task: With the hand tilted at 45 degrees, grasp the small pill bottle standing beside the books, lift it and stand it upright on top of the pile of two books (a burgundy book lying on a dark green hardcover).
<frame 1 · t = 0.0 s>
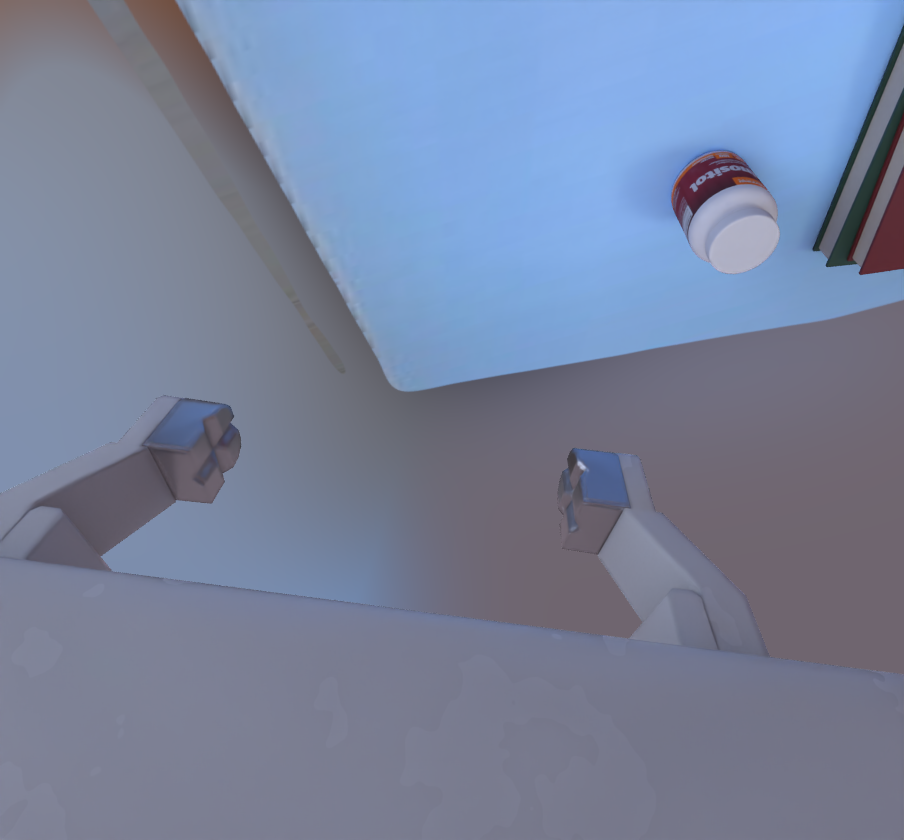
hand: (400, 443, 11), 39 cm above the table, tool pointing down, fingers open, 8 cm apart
pill bottle: (705, 184, 42), on the table
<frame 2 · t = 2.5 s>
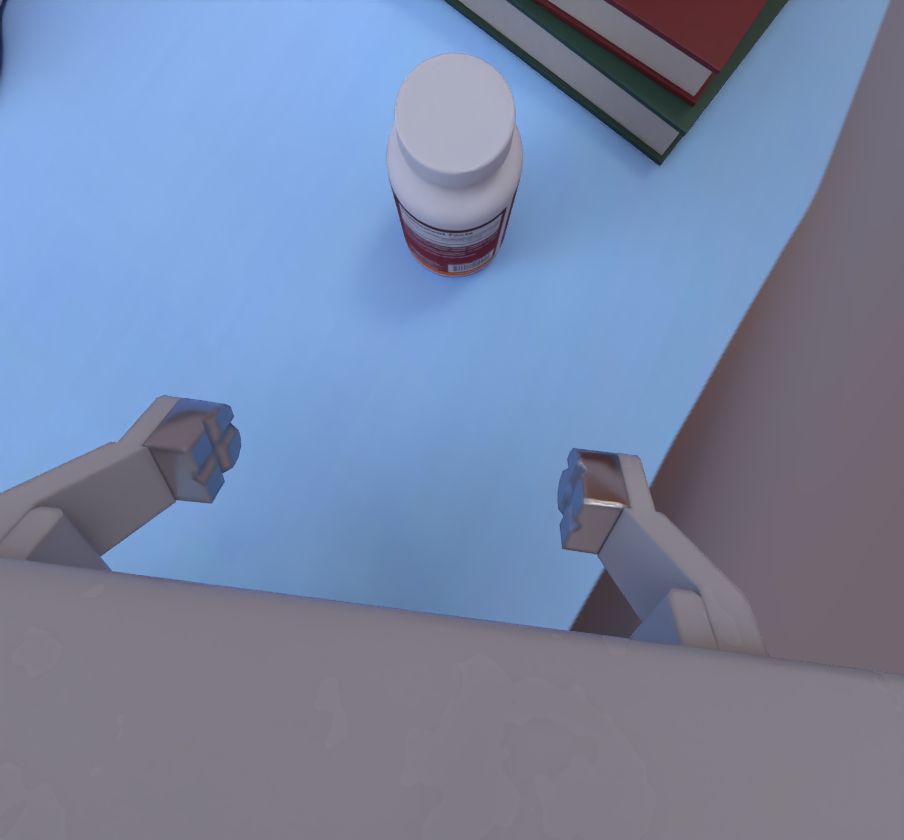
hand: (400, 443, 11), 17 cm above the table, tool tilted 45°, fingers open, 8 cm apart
pill bottle: (453, 231, 29), on the table
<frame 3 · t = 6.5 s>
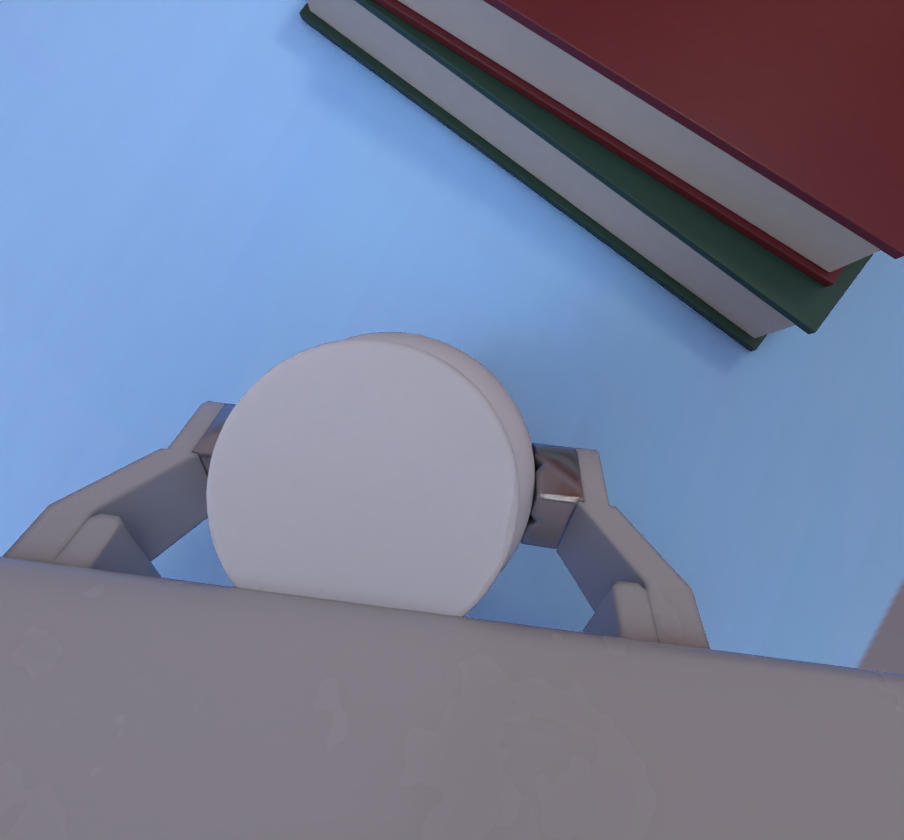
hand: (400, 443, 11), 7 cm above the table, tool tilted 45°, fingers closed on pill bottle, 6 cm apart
lower book: (636, 34, 18), on the table
pill bottle: (419, 457, 18), on the table, touching gripper
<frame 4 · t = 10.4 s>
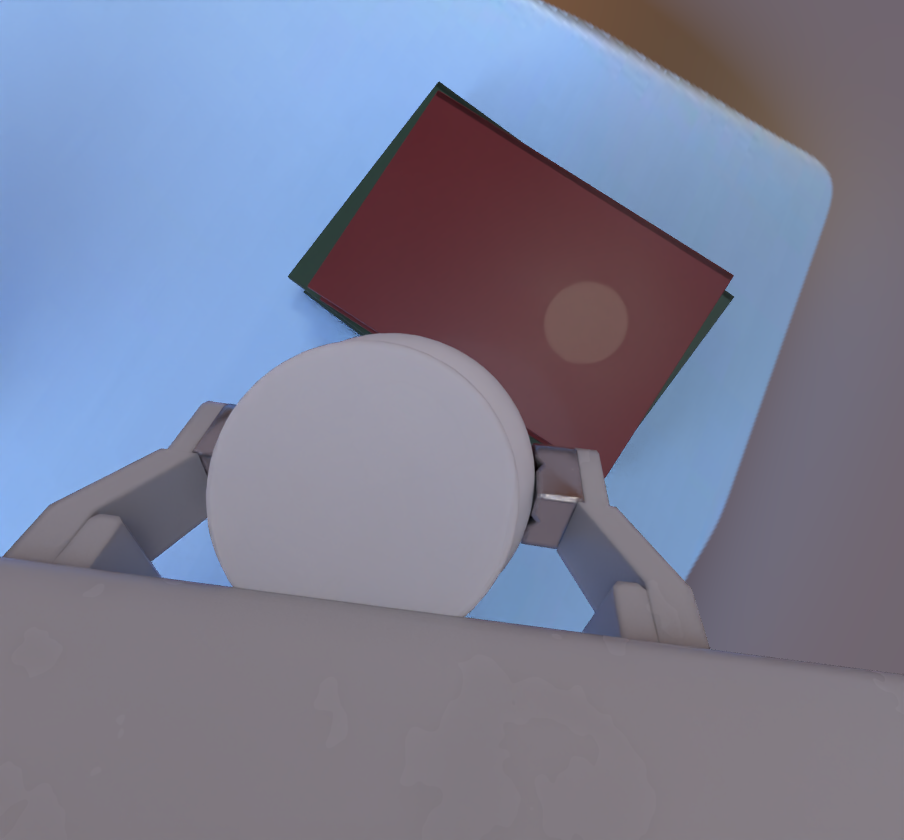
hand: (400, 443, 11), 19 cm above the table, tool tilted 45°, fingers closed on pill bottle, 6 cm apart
upper book: (513, 295, 28), resting on lower book
lower book: (504, 302, 31), on the table
pill bottle: (419, 458, 18), point 13 cm above the table, touching gripper
when the fingers open (12 cm above the table, at t = 14.3 s): pill bottle stays where it is, resting on upper book.
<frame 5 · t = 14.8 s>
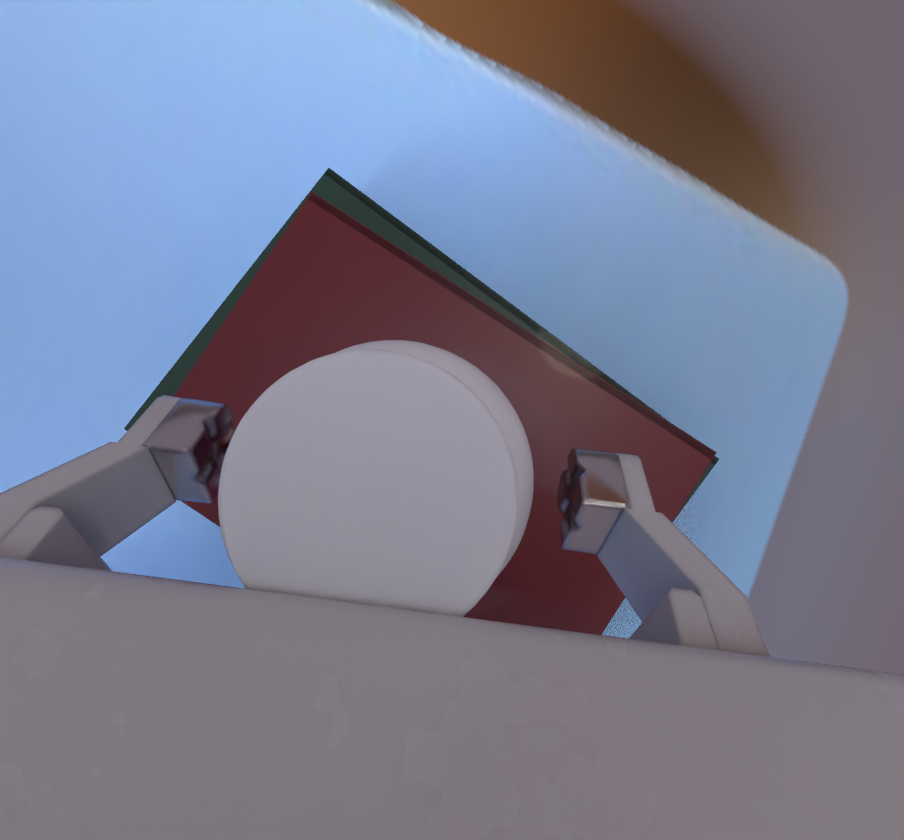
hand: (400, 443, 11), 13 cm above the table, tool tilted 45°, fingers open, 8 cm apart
upper book: (425, 456, 21), resting on lower book
lower book: (424, 443, 24), on the table
pill bottle: (421, 460, 18), point 6 cm above the table, touching upper book
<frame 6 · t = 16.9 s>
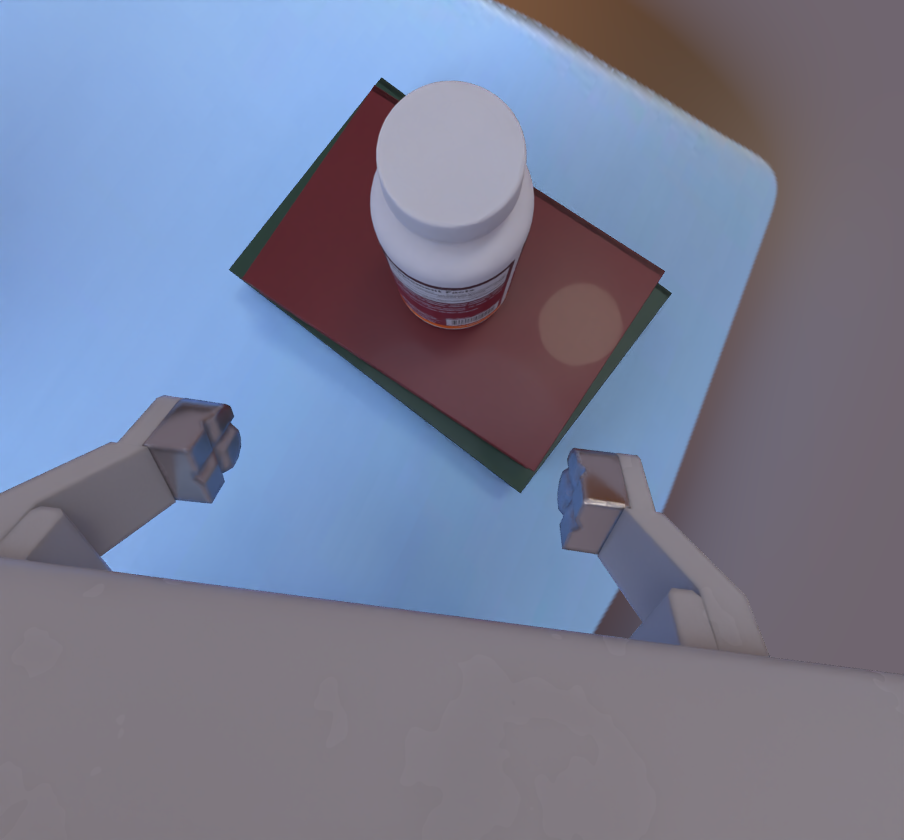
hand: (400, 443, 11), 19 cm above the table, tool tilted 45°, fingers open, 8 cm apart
upper book: (453, 290, 28), resting on lower book
lower book: (450, 297, 31), on the table
pill bottle: (453, 277, 25), point 6 cm above the table, touching upper book
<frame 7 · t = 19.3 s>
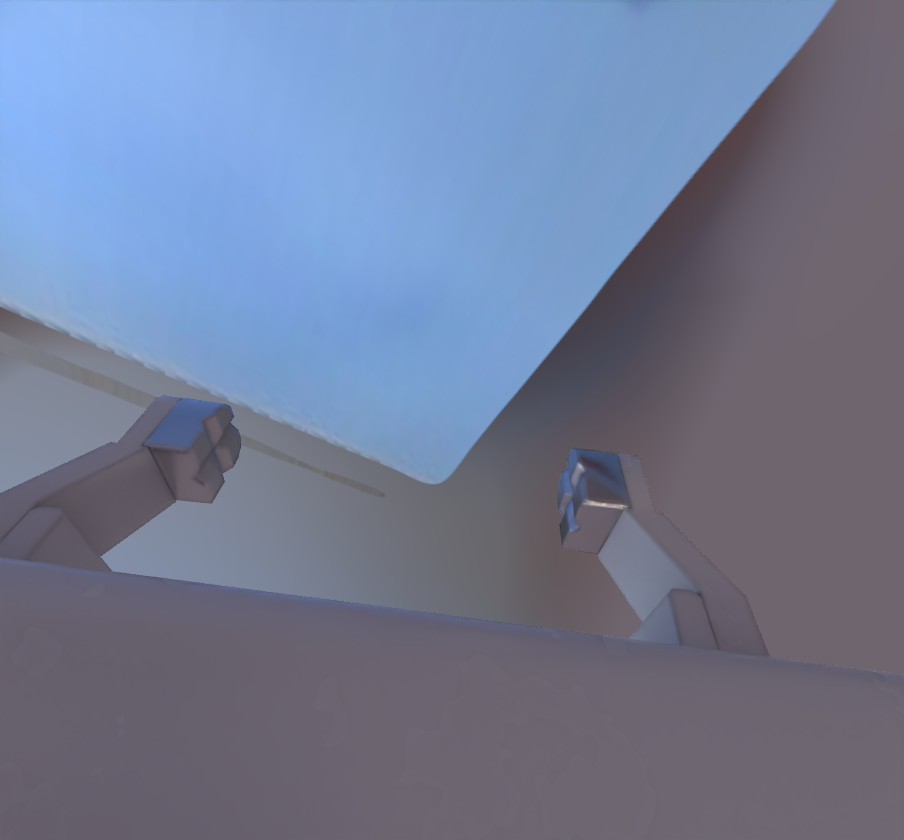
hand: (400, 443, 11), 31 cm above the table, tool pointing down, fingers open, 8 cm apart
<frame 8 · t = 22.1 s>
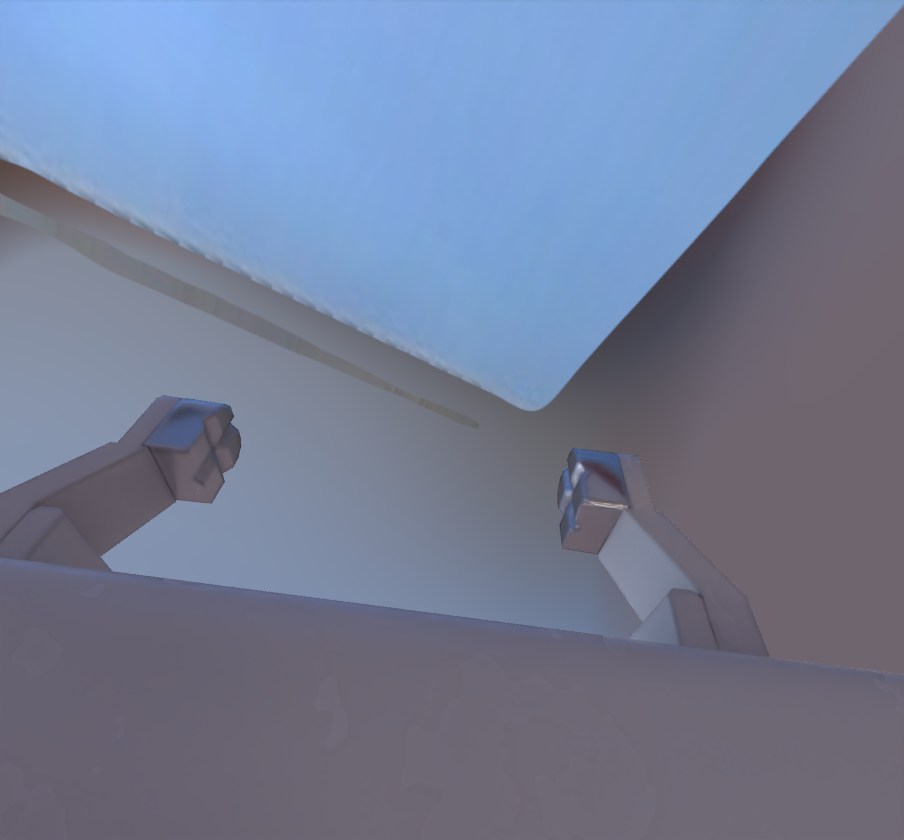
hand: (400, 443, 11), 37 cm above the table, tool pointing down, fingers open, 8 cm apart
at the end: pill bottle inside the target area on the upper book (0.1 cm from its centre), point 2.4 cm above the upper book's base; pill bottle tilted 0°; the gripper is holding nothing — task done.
